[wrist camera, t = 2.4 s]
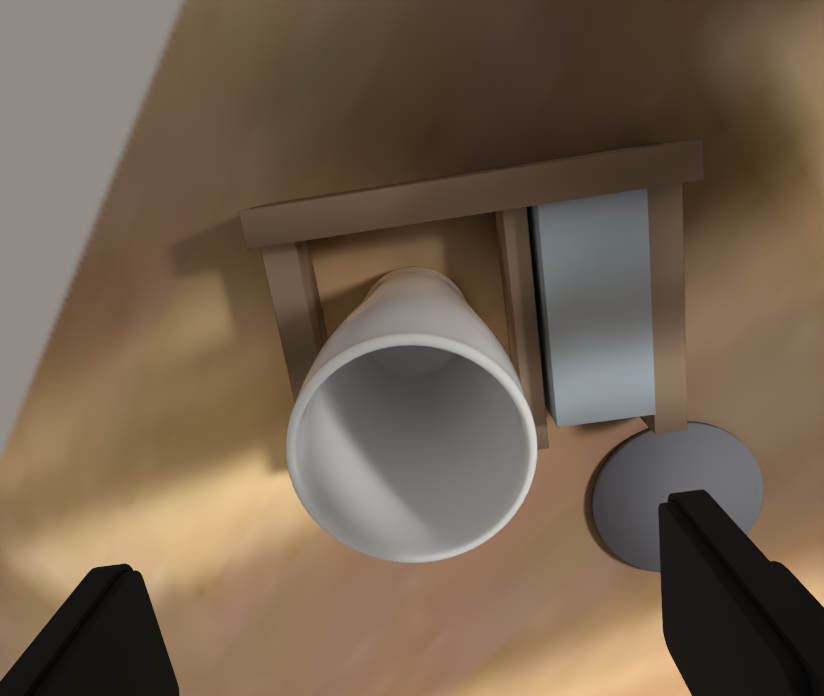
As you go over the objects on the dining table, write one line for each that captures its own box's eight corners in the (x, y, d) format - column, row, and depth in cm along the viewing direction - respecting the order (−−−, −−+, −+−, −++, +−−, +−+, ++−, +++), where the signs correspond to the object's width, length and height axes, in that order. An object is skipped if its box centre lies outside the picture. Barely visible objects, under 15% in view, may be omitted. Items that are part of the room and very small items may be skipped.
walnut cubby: (268, 203, 28) (238, 211, 24) (653, 143, 28) (703, 138, 23) (321, 451, 32) (304, 500, 27) (662, 405, 31) (706, 449, 26)
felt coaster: (586, 433, 32) (588, 436, 31) (760, 410, 31) (765, 413, 31) (596, 577, 34) (598, 581, 34) (758, 557, 34) (762, 562, 33)
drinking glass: (497, 362, 31) (565, 536, 16) (369, 396, 31) (327, 592, 17) (464, 232, 29) (509, 300, 14) (329, 270, 29) (243, 371, 15)
